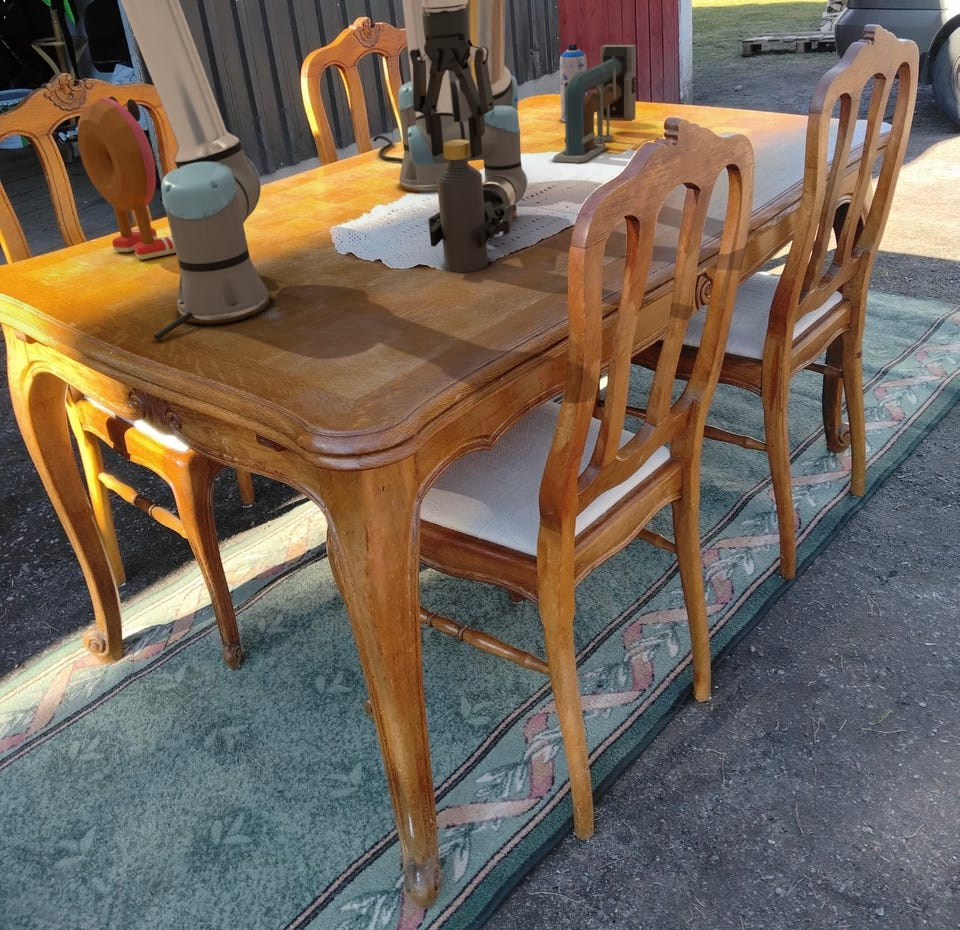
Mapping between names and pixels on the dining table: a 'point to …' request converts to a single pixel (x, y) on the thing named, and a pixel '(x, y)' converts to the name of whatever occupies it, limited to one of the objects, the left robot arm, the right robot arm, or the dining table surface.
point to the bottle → (461, 216)
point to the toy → (122, 171)
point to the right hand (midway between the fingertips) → (455, 239)
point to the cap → (456, 149)
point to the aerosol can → (570, 70)
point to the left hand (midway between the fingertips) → (457, 154)
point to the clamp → (599, 102)
